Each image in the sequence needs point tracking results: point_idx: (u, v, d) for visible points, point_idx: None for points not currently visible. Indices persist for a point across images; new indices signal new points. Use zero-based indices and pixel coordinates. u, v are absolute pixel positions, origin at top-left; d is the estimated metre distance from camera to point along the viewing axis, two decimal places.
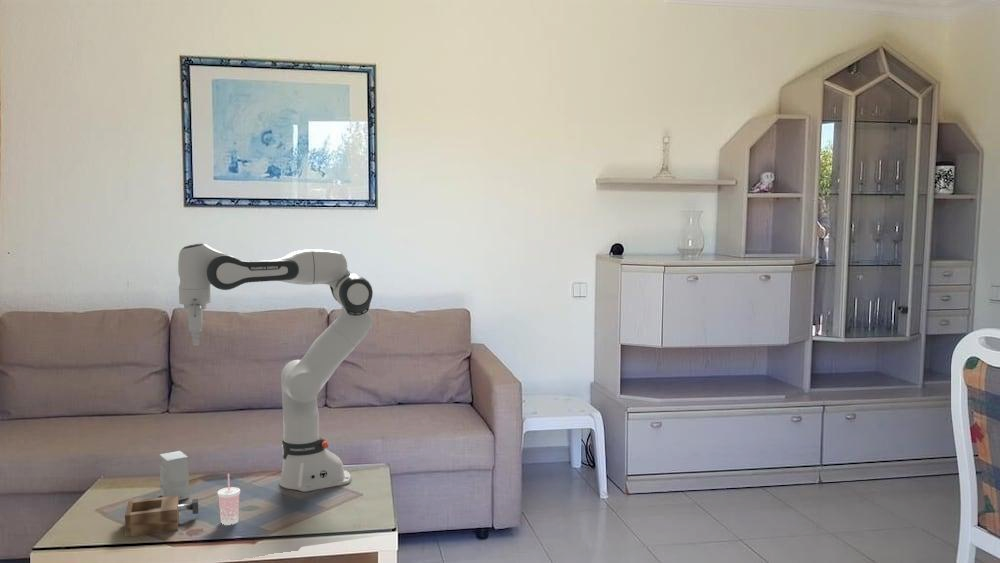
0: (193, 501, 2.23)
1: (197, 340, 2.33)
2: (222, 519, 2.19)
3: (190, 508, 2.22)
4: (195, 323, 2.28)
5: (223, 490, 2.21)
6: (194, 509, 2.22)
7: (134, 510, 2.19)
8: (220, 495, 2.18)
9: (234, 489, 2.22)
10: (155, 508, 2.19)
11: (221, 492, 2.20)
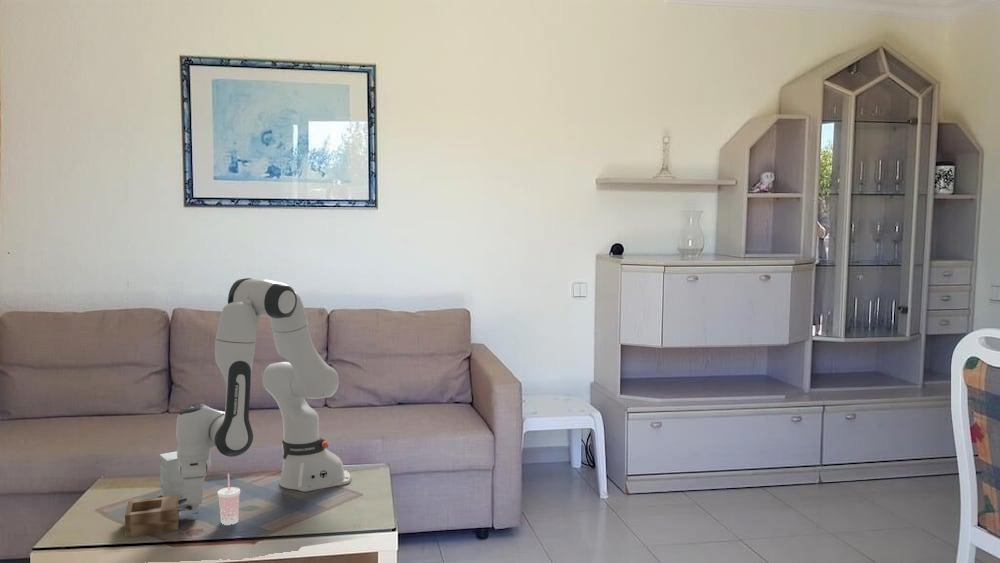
0: None
1: None
2: (222, 519, 2.19)
3: (190, 508, 2.22)
4: None
5: (223, 490, 2.21)
6: None
7: (134, 510, 2.19)
8: (220, 495, 2.18)
9: (234, 489, 2.22)
10: (155, 508, 2.19)
11: (221, 492, 2.20)
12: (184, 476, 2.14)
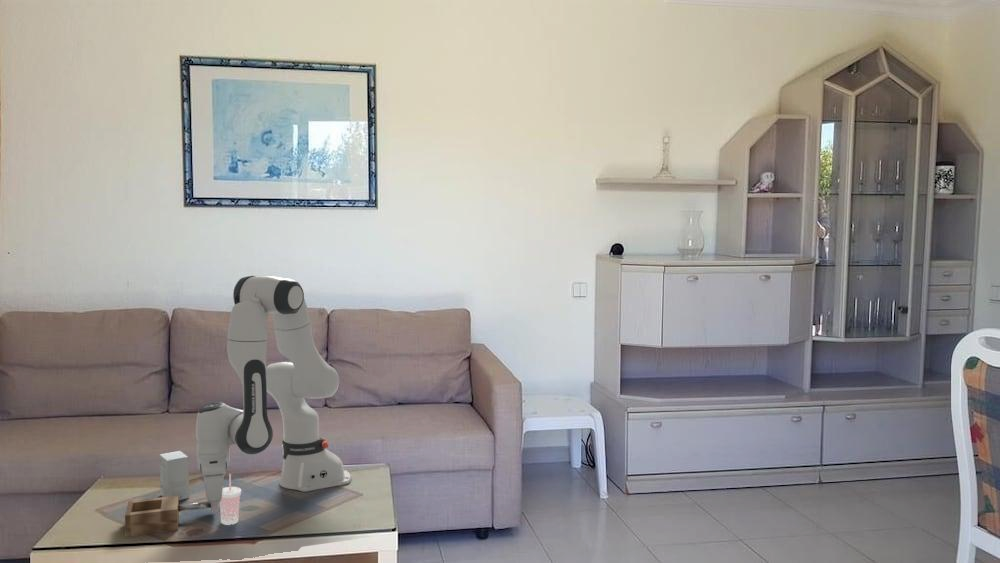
0: None
1: None
2: (222, 519, 2.19)
3: (209, 506, 2.24)
4: None
5: (224, 490, 2.21)
6: None
7: (134, 510, 2.19)
8: None
9: (235, 489, 2.22)
10: None
11: (222, 492, 2.19)
12: (204, 474, 2.15)
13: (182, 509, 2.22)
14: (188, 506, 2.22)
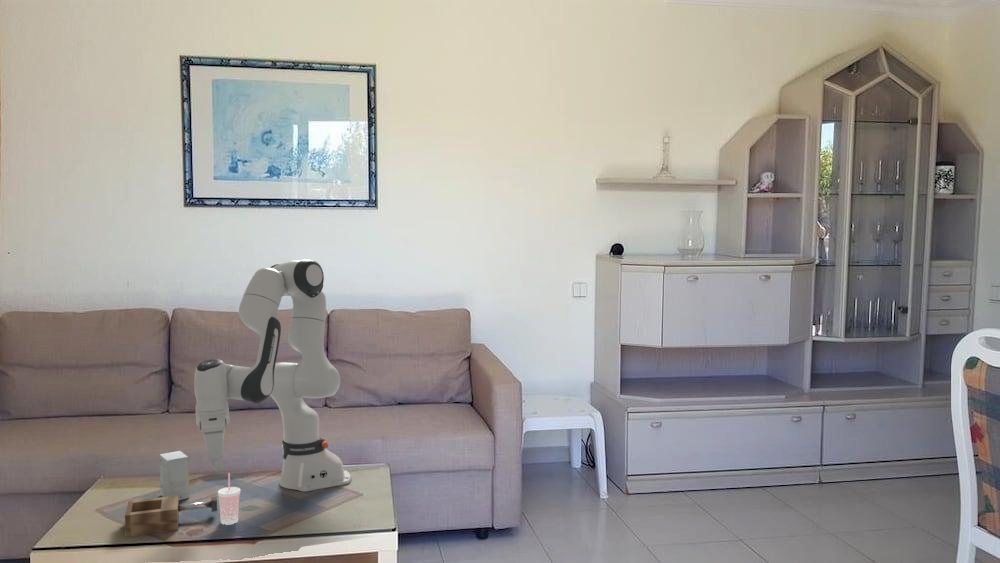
0: (212, 499, 2.25)
1: None
2: (222, 519, 2.19)
3: (209, 506, 2.24)
4: None
5: (223, 490, 2.21)
6: (213, 507, 2.24)
7: (134, 510, 2.19)
8: (220, 494, 2.18)
9: (234, 489, 2.22)
10: None
11: (221, 491, 2.20)
12: (204, 431, 2.14)
13: (182, 509, 2.22)
14: (188, 506, 2.22)
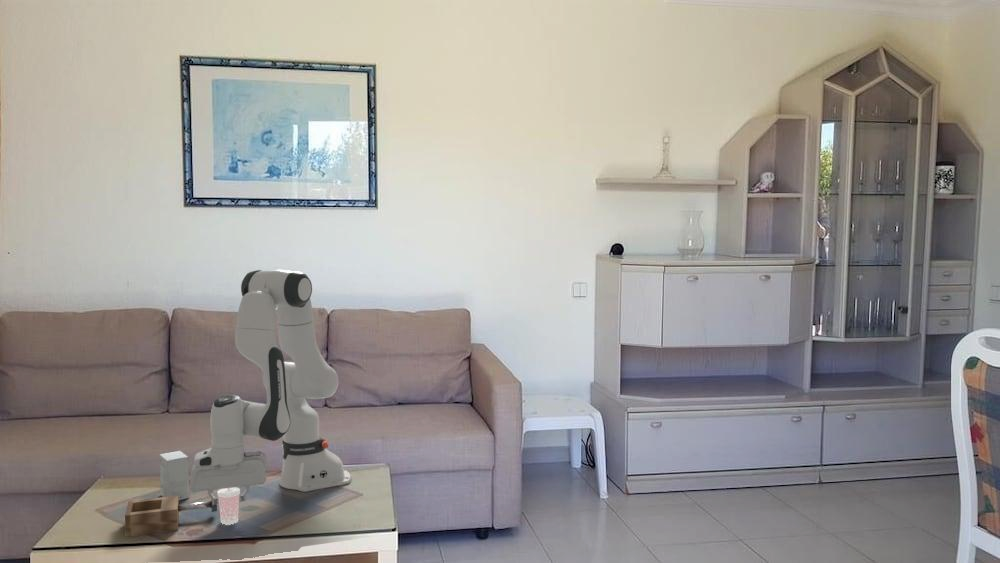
0: None
1: None
2: (222, 519, 2.19)
3: (209, 506, 2.24)
4: None
5: (223, 490, 2.21)
6: (213, 507, 2.24)
7: (134, 510, 2.19)
8: (220, 495, 2.18)
9: (234, 489, 2.22)
10: None
11: (221, 492, 2.20)
12: None
13: (182, 509, 2.22)
14: (188, 506, 2.22)
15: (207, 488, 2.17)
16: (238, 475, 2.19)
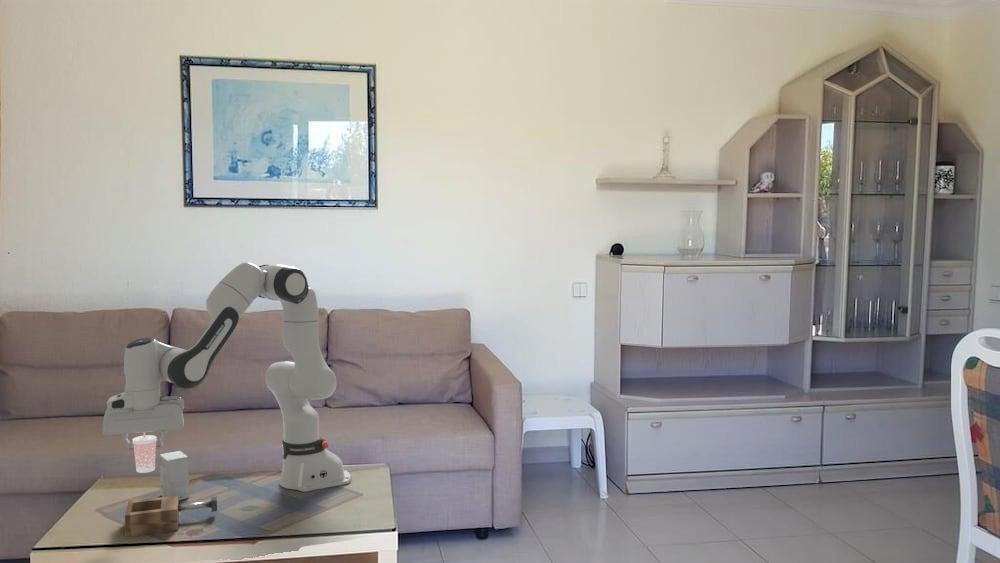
0: (212, 499, 2.25)
1: None
2: (137, 467, 2.14)
3: (209, 506, 2.24)
4: None
5: (139, 437, 2.16)
6: (213, 507, 2.24)
7: (134, 510, 2.19)
8: (134, 442, 2.13)
9: (150, 437, 2.17)
10: None
11: (136, 439, 2.14)
12: None
13: (182, 509, 2.22)
14: (188, 506, 2.22)
15: (121, 432, 2.11)
16: (153, 419, 2.14)
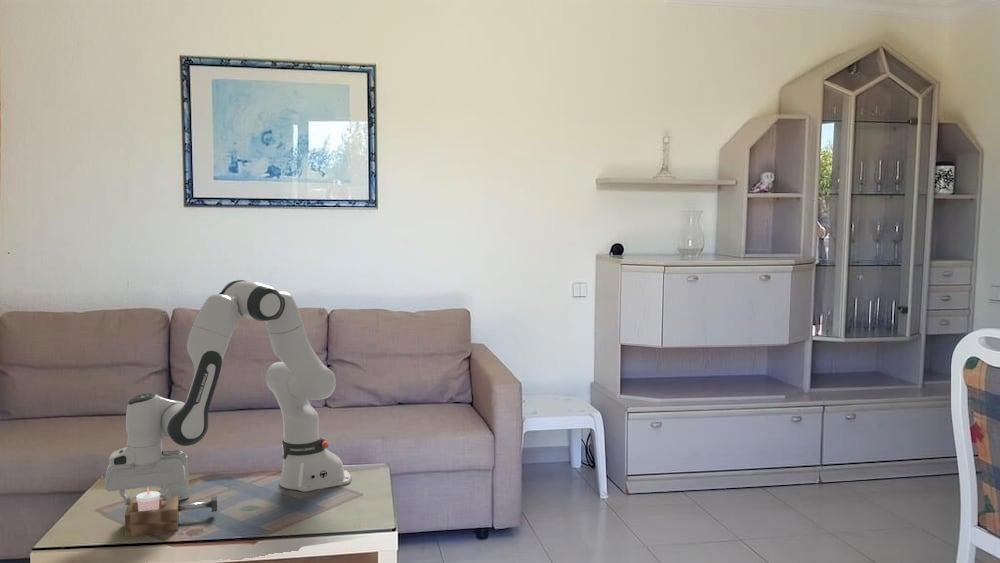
0: (212, 499, 2.25)
1: None
2: None
3: (209, 506, 2.24)
4: (184, 472, 2.20)
5: (143, 494, 2.18)
6: (213, 507, 2.24)
7: (134, 510, 2.19)
8: (138, 499, 2.14)
9: (154, 493, 2.19)
10: None
11: (140, 496, 2.16)
12: None
13: (182, 509, 2.22)
14: (188, 506, 2.22)
15: (123, 487, 2.13)
16: (155, 474, 2.15)
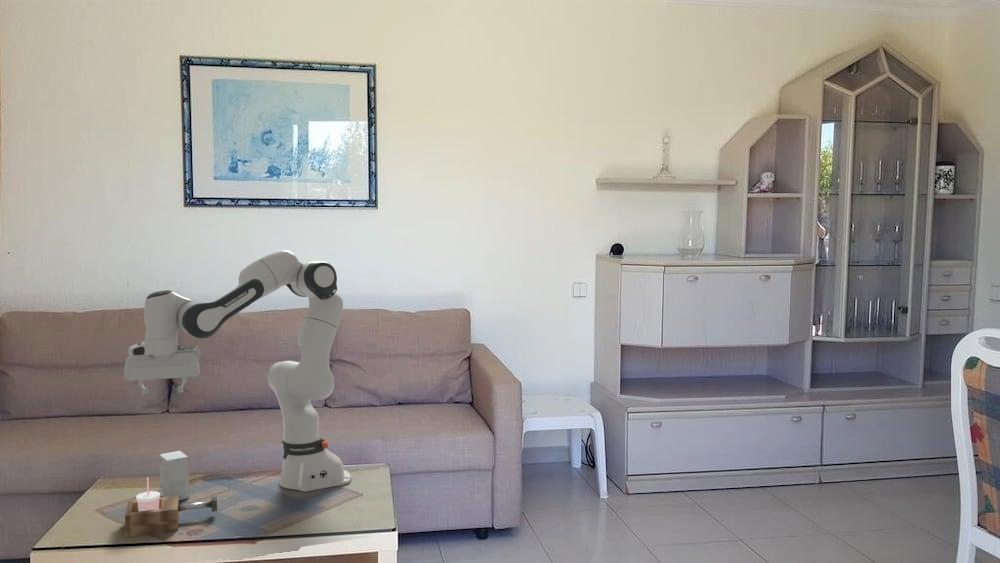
0: (212, 499, 2.25)
1: None
2: None
3: (209, 506, 2.24)
4: None
5: (143, 494, 2.18)
6: (213, 507, 2.24)
7: (134, 510, 2.19)
8: (138, 499, 2.14)
9: (154, 493, 2.19)
10: None
11: (140, 496, 2.16)
12: None
13: (182, 509, 2.22)
14: (188, 506, 2.22)
15: (141, 378, 2.25)
16: (171, 366, 2.28)
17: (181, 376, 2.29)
